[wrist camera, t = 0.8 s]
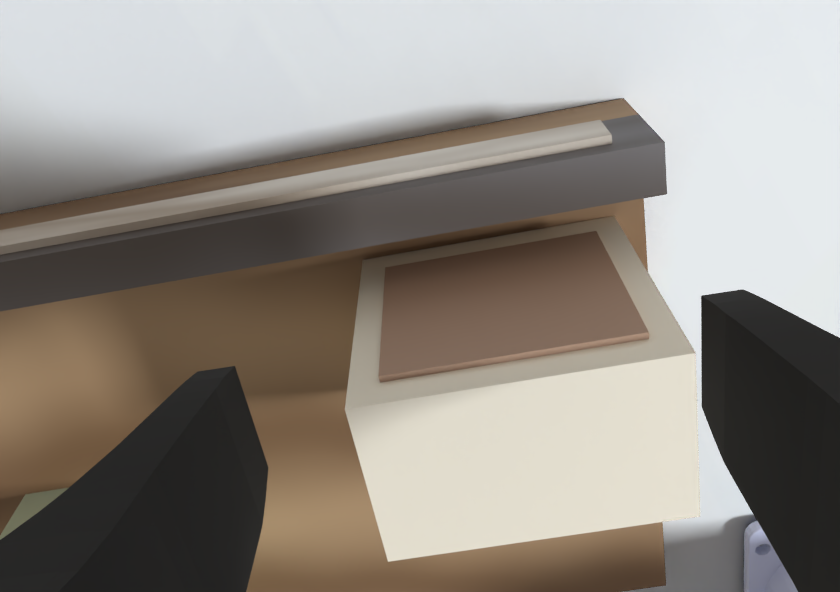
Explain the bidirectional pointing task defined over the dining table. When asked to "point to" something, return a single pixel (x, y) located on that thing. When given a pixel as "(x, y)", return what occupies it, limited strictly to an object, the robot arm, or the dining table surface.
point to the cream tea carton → (520, 392)
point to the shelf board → (297, 327)
